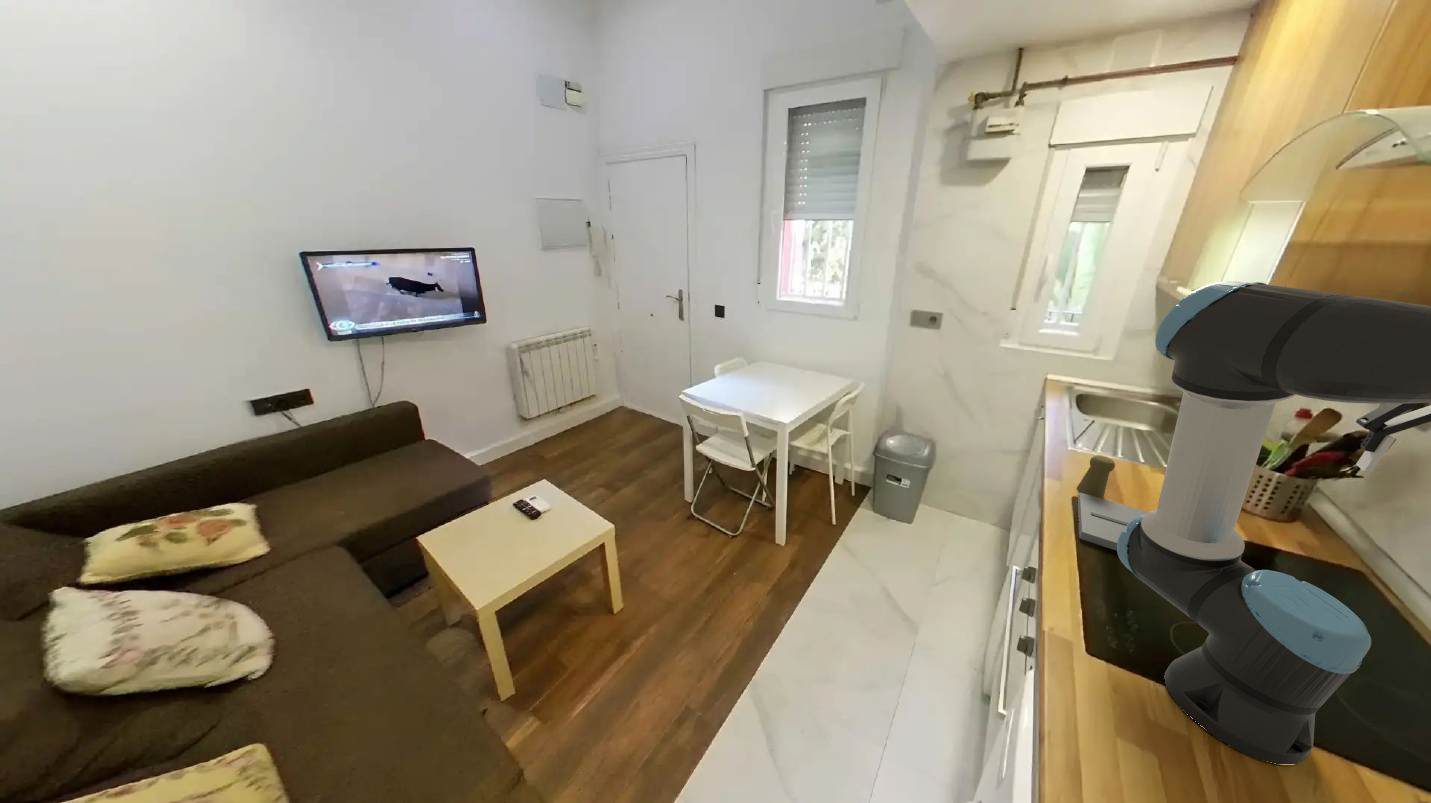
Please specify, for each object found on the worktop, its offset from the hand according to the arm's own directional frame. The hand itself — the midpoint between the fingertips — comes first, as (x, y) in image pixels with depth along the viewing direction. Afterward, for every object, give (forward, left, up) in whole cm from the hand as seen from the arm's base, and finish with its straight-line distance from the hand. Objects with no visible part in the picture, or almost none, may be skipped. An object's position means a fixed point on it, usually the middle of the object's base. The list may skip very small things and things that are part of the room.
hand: (1428, 481), depth 73 cm
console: (+11, +24, -32) cm, 41 cm away
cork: (+27, +34, -32) cm, 54 cm away
